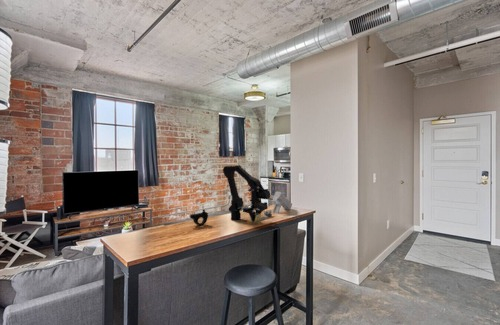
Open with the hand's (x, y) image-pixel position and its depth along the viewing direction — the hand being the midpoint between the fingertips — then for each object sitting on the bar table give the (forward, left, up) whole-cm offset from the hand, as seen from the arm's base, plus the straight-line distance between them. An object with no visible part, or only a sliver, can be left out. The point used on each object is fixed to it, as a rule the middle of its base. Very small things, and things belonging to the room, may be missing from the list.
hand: (255, 220), depth 169 cm
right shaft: (+12, +16, -1) cm, 20 cm away
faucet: (+27, +32, -2) cm, 42 cm away
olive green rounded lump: (0, 0, -1) cm, 1 cm away
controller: (-38, 0, -1) cm, 38 cm away
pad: (+7, +10, -1) cm, 12 cm away
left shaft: (0, +7, -1) cm, 7 cm away
